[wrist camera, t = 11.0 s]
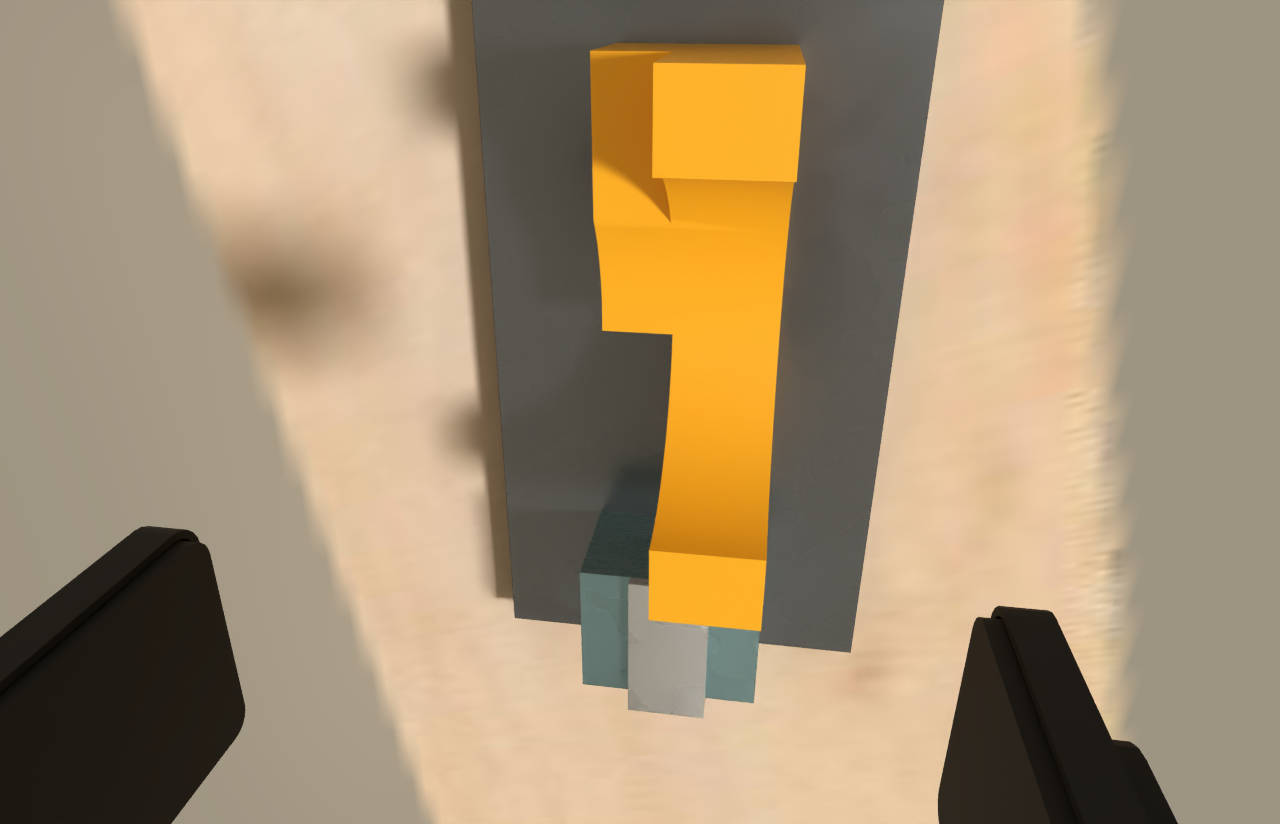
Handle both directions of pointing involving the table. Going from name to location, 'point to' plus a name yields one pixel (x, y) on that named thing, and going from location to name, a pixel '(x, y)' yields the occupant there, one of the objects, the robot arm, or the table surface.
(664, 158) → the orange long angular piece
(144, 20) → the table surface
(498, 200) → the workpiece vise
